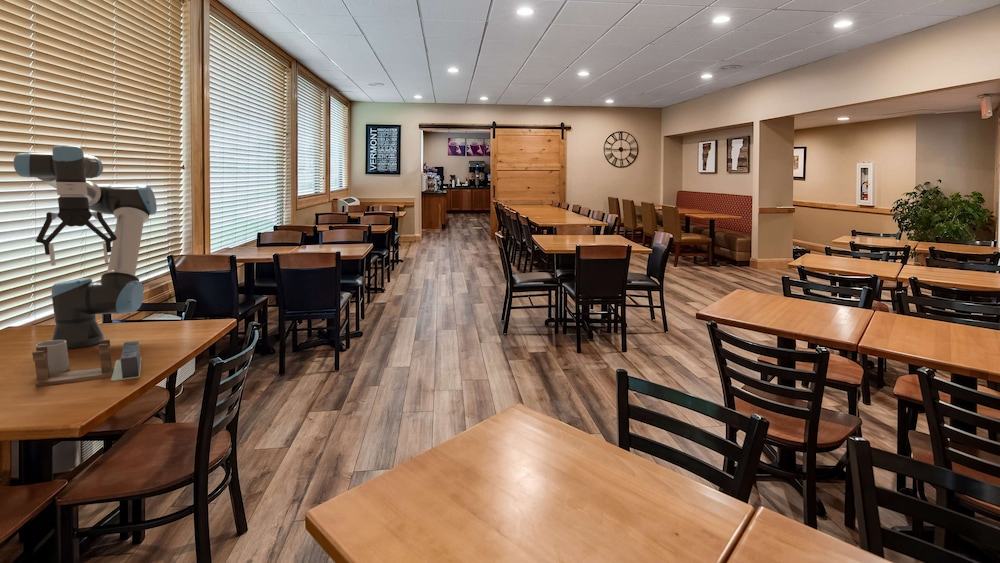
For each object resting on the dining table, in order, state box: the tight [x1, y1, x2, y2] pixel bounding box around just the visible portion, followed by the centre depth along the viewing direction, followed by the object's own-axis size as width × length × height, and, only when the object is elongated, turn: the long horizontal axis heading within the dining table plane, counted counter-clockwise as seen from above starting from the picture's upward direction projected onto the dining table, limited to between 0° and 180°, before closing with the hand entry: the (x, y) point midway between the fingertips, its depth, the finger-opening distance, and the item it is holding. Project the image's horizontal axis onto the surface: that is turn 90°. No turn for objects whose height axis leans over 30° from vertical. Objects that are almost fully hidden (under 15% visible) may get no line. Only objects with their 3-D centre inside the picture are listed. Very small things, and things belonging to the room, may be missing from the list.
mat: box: [110, 356, 143, 382], centre depth 171 cm, size 22×7×1 cm, turn 32°
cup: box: [35, 339, 70, 374], centre depth 168 cm, size 7×10×9 cm
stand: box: [31, 338, 114, 388], centre depth 162 cm, size 8×18×10 cm, turn 122°
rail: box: [120, 340, 141, 378], centre depth 170 cm, size 4×20×6 cm, turn 32°
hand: (80, 263), depth 174 cm, fingers open, 13 cm apart
